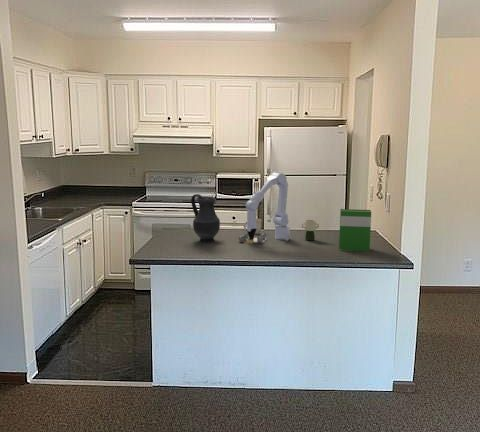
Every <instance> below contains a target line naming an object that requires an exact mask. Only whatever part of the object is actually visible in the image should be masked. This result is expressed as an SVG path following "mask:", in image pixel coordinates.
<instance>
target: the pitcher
mask: <svg viewBox="0 0 480 432" xmlns="http://www.w3.org/2000/svg"><path fill="white" fill-rule="evenodd" d="M196 197H197V198H196ZM195 199H196V200H195ZM196 201H197V202H198V206H199V208H198V207H197V205H196ZM216 201H217V199H216V198H215V197H214V196H202V195H201V194H198V193H196V194H193V195H192V196H191V200H190V202H191V203H190V204H191V206H192V207H191V208H192V211H193V213H194V219H193V222H192V227H193V230H194V232H195V234H196V235H197V236H198V237H199V242H200V243H212V242H214V241H215V237H216V236H217V234H218V233H219V231H220V227H221V225H220V224H221V222H220V218H219V217H218V215H217V213H216V210H215V207H214V205H215V202H216ZM198 209H199V210H198Z"/></svg>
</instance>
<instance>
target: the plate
mask: <svg viewBox="0 0 480 432" xmlns="http://www.w3.org/2000/svg"><path fill="white" fill-rule="evenodd" d="M257 238H258V237H254V239H253V243H257ZM266 240H267V238H265V240H263V242H262V244H263V243H264V242H265V241H266ZM243 243H246V241H244V242H243Z"/></svg>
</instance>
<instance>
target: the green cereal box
mask: <svg viewBox="0 0 480 432" xmlns="http://www.w3.org/2000/svg"><path fill="white" fill-rule="evenodd" d="M339 213H340V215H339V238H338V239H339V241H338V243H339V244H338V250H339V249H342V250H341V251H343V250H357V251H356V252H367V251H369V252H370V251H371V250H370V248H371V247H370V246H371V229H372V228H371V227H372V224H371V223H372V210H371V209H356V208H354V209H352V208H351V209H350V208H346V209H345V208H340V211H339Z"/></svg>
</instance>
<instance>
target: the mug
mask: <svg viewBox="0 0 480 432" xmlns="http://www.w3.org/2000/svg"><path fill="white" fill-rule="evenodd" d="M245 226H247V221H245V222H244V223H243V229H244V230H245V232H247V227H245ZM261 227H262V219H261V218H256V228H254V229H257V230H256V232H255V235H256V234H257V235H258V234H260V235H261Z"/></svg>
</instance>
